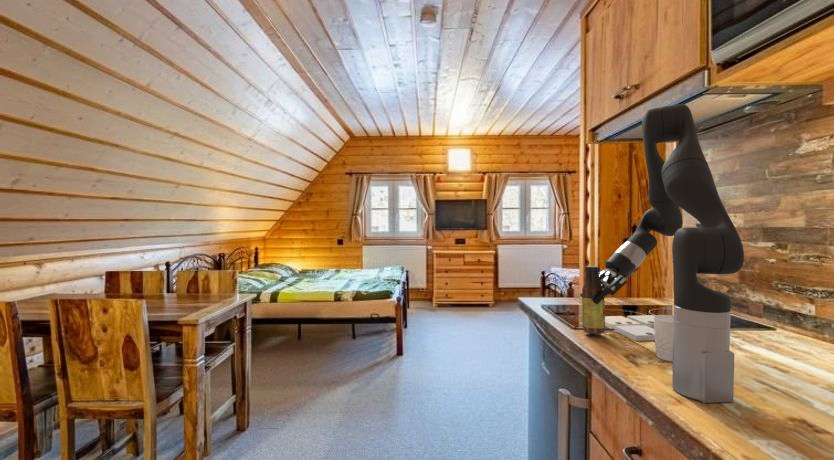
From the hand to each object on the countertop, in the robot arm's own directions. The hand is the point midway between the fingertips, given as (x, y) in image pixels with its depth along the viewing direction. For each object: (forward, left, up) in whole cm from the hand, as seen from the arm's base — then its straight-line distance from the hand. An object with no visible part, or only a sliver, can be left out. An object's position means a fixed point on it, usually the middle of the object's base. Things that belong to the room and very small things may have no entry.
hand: (588, 299), depth 118 cm
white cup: (-21, -11, -11) cm, 26 cm away
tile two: (+10, -16, -11) cm, 21 cm away
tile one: (-2, -16, -11) cm, 19 cm away
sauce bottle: (0, -2, -10) cm, 10 cm away
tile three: (+10, -28, -11) cm, 31 cm away
